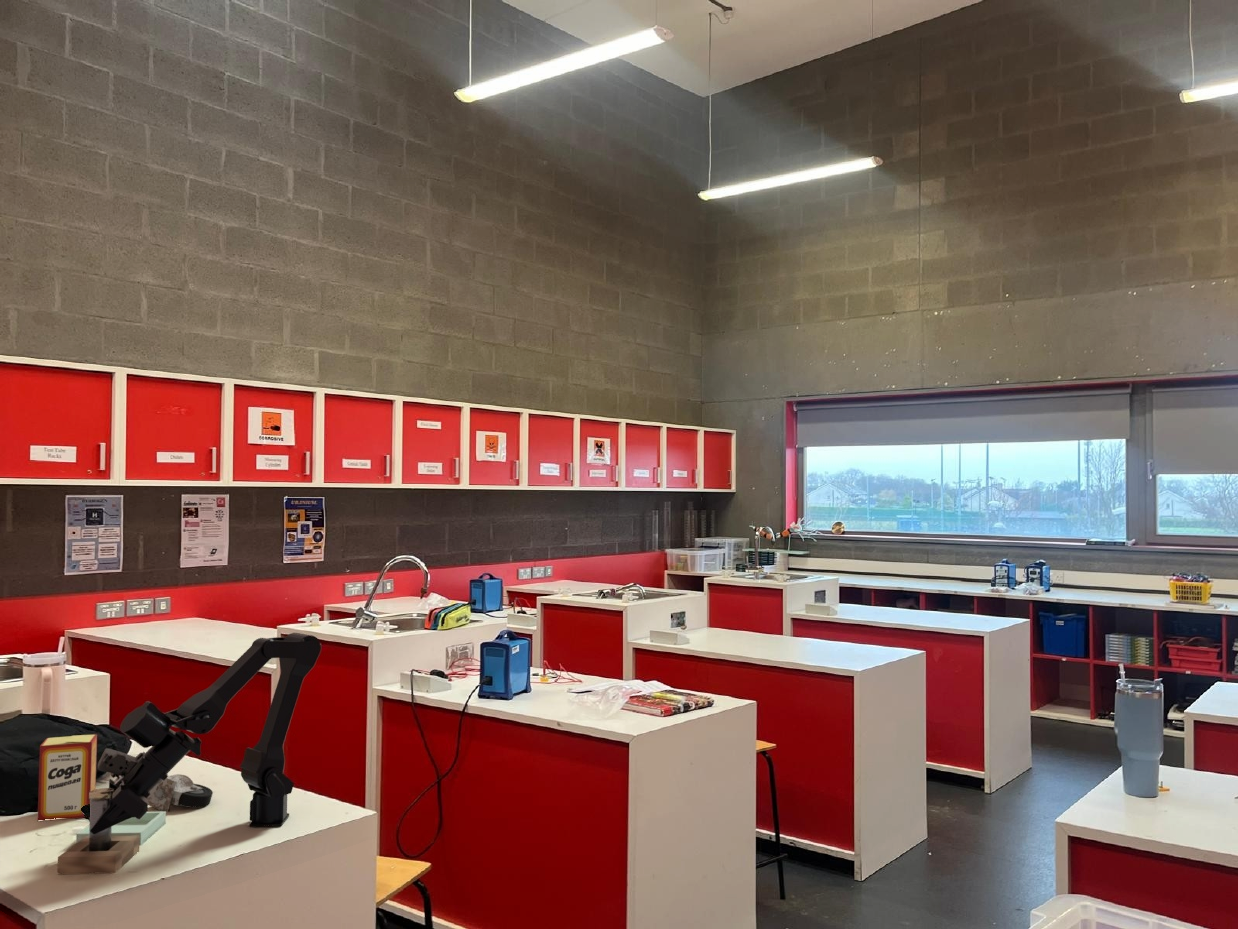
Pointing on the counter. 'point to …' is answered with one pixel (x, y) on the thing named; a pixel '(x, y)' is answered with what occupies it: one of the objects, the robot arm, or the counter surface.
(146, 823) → the tray
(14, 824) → the counter surface
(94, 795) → the pin
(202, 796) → the caster wheel
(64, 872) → the block
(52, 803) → the baking soda box
